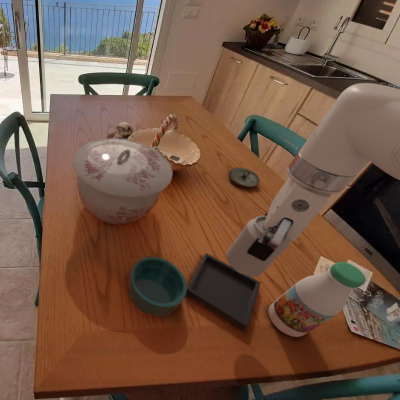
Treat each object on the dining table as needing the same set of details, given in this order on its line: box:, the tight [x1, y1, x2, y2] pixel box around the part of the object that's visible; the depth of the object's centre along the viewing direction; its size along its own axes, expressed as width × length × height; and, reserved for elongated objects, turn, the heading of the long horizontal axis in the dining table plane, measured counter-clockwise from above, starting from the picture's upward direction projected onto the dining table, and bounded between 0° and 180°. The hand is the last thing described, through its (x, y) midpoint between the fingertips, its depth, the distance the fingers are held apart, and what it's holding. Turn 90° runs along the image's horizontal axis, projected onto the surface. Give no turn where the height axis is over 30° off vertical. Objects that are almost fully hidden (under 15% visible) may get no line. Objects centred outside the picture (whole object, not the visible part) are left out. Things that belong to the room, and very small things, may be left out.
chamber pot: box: [72, 138, 174, 226], centre depth 78 cm, size 28×28×21 cm
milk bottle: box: [268, 261, 367, 338], centre depth 54 cm, size 8×8×20 cm
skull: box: [106, 121, 134, 139], centre depth 115 cm, size 12×10×10 cm
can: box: [225, 215, 291, 278], centre depth 54 cm, size 8×8×12 cm
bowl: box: [126, 256, 188, 317], centre depth 63 cm, size 13×13×5 cm
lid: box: [228, 167, 261, 189], centre depth 98 cm, size 11×10×5 cm
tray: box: [185, 252, 262, 331], centre depth 65 cm, size 14×14×2 cm
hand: (260, 242), depth 53 cm, fingers closed on can, 7 cm apart
